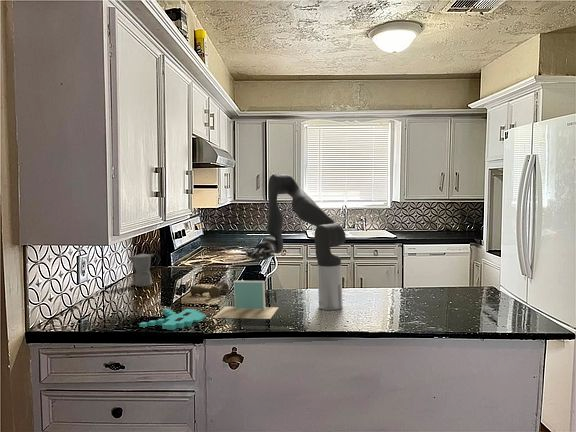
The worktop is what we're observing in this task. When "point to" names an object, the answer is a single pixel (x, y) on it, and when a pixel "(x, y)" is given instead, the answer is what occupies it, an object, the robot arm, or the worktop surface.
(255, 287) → the tile
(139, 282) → the coffeepot
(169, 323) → the alien figure
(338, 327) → the worktop surface
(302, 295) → the worktop surface
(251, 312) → the tan flat rectangular board
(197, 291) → the kendama
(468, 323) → the worktop surface
